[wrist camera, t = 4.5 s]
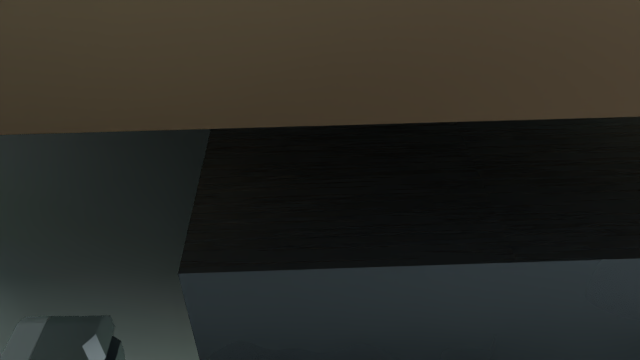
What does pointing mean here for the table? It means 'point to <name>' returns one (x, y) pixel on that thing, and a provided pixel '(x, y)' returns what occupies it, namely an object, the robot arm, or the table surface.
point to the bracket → (418, 242)
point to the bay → (312, 62)
